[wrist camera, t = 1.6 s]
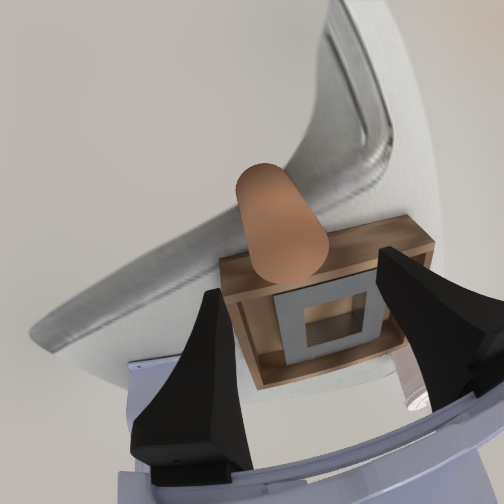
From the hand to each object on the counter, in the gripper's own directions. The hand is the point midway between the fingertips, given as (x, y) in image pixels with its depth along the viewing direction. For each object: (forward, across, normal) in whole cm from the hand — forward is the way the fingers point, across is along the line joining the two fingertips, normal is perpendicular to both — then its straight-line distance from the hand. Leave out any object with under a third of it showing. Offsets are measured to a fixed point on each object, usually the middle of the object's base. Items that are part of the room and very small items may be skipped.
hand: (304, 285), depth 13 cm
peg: (+10, 0, 0) cm, 10 cm away
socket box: (+10, -4, +12) cm, 16 cm away
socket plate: (+10, -4, +12) cm, 16 cm away
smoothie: (+11, -15, +25) cm, 31 cm away
